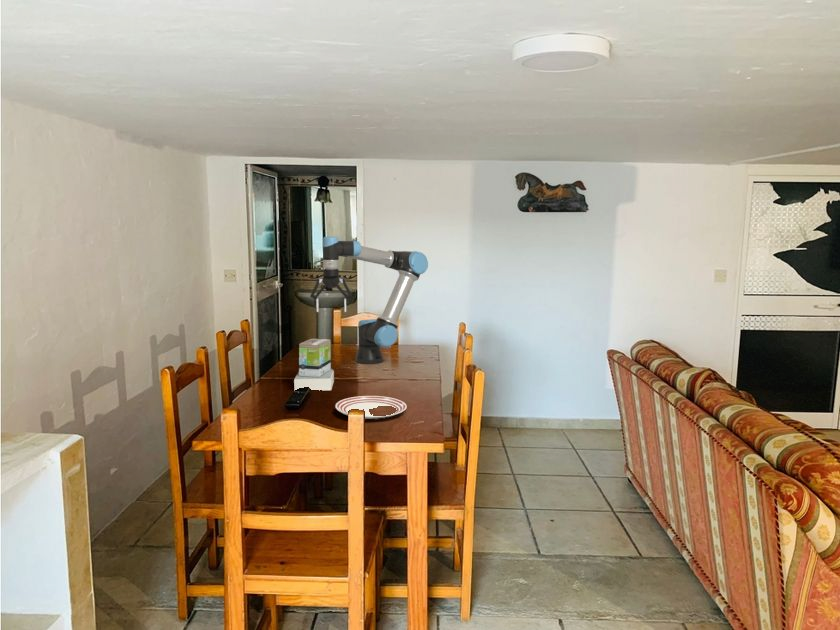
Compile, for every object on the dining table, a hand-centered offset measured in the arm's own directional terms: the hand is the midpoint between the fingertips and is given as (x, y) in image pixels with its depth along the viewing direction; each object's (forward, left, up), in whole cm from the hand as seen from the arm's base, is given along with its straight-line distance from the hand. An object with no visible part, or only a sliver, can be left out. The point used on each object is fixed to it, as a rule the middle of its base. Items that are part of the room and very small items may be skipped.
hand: (331, 311), depth 282 cm
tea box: (+6, +26, -25) cm, 36 cm away
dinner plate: (-20, +67, -31) cm, 77 cm away
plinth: (+6, +26, -31) cm, 41 cm away
